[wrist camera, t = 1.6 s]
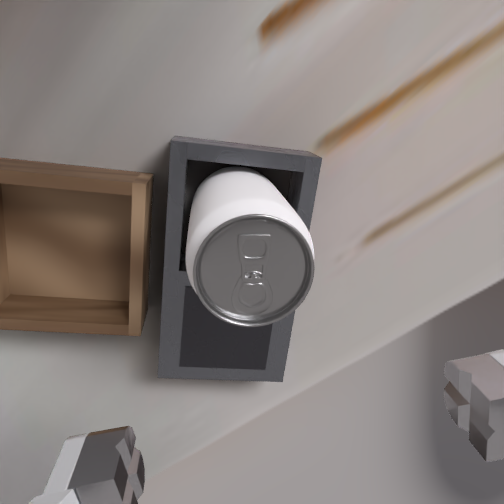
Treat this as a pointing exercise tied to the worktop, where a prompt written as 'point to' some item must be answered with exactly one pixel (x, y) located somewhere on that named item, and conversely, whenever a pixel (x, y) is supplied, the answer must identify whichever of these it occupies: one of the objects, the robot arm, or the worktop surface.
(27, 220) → the box
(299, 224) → the can
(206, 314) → the tray
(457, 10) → the worktop surface
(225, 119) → the worktop surface
